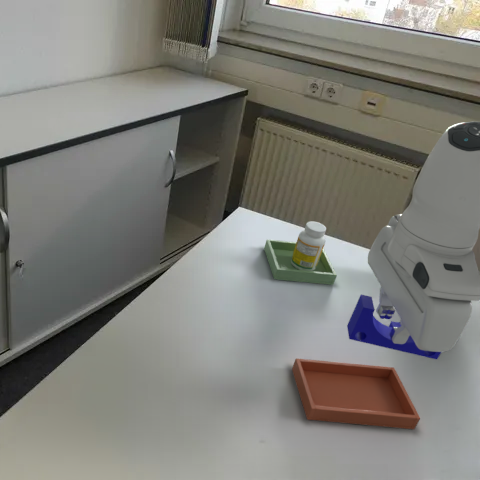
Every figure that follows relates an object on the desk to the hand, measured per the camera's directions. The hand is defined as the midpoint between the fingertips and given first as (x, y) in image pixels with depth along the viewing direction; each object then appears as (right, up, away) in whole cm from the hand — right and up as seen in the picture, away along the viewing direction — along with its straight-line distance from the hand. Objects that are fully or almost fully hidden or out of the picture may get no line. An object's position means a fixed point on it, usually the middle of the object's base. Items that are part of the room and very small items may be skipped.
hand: (389, 328), depth 77 cm
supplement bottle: (0, +7, +38) cm, 38 cm away
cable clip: (+1, -2, +2) cm, 3 cm away
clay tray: (-2, -12, +8) cm, 15 cm away
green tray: (-1, +7, +38) cm, 38 cm away
